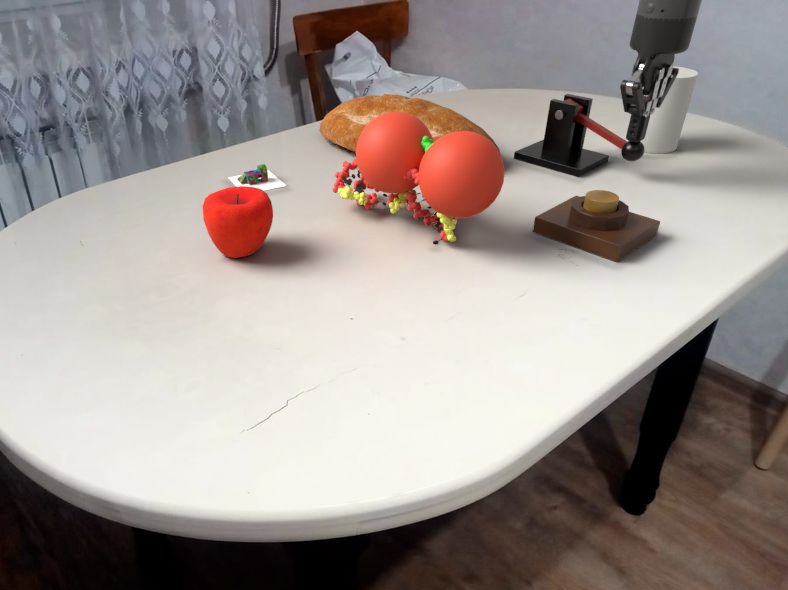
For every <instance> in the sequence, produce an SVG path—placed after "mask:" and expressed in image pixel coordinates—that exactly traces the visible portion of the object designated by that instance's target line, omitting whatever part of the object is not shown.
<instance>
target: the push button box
mask: <svg viewBox="0 0 788 590" xmlns="http://www.w3.org/2000/svg"><path fill="white" fill-rule="evenodd" d="M585 196H586V195H582V196H579V195H574V196H573V197H570V198H568V199H567V200H565V201H562V202H560V203H558V204H557V205H554V206H553V207H551V208H549V209H547V210H546V211H543V212H542V213H540V214H538V215H536V216H535V217H534V221H533V227H532V233H534V234H537V235H540V236H543V237H545V238H548V239H551V240H554V241H556V242H559V243H562V244H565V245H568V246H571V247H573V248H576V249H578V250H582V251H584V252H586V253H587V252H588V253H589V254H592V255H596V256H599V257H601V258H604V259H607V260H609V261H612V262H615V263H619V262H620V261H622V260H623V259H625V258H626V257H627V256H629V255H631V254H632V253H634V252H635V251H636V250H638V249H639V248H642V246H644V245H646V244H647V243H648V242H650V241H651V240H653V239H654V238H656V237H657V234H658V231H659V228H660V224H661V221H660V220H658V219H655V218H651V217H648V216H645V215H642V214H638V213H635V212H632V211H630V206H629V205H628V204H626V203H625V202H623V201H622V200H620V199H619V201H618V205H617V209H616V212H614V213H607V214H604V213H594V212H591V211H588V210H586V209H585V208H583V205H584V200H585Z"/></svg>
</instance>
